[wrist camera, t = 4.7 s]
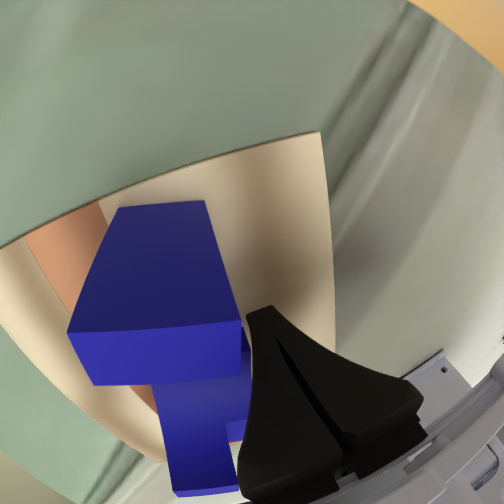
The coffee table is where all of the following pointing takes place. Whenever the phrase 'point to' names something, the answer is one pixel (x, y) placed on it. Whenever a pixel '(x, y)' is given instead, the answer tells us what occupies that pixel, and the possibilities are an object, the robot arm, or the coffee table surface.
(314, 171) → the plywood sheet
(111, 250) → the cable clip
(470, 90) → the coffee table surface
